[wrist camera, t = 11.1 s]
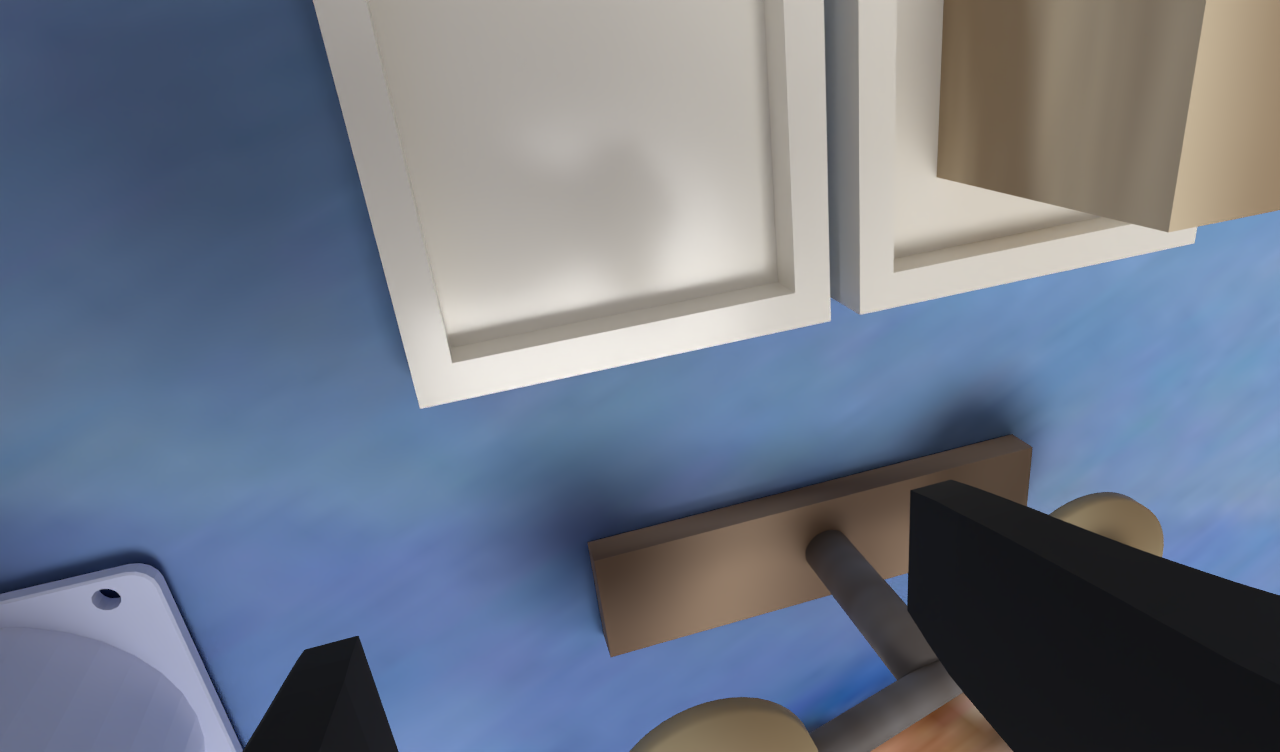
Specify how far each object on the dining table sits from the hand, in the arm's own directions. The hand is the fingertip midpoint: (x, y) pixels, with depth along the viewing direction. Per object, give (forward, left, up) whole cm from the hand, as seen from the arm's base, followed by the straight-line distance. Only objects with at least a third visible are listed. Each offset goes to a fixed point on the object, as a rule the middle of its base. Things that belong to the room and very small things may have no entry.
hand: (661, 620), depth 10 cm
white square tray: (+2, +5, -8) cm, 10 cm away
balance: (+6, -6, -8) cm, 12 cm away
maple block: (+11, +5, -8) cm, 14 cm away
